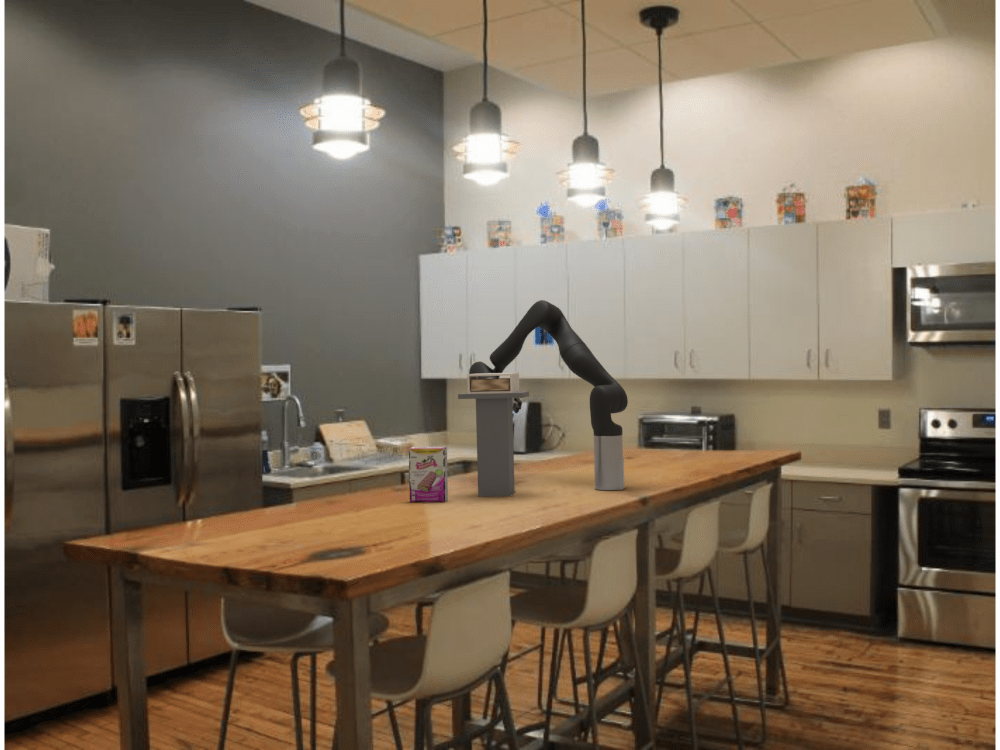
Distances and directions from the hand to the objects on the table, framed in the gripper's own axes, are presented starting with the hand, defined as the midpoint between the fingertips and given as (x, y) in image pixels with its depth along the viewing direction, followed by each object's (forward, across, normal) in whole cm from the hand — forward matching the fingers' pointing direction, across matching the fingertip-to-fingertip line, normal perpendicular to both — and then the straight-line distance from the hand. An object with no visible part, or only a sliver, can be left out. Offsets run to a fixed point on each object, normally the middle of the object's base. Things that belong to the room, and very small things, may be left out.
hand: (504, 409), depth 320 cm
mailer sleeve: (+9, -7, -8) cm, 14 cm away
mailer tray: (+4, -5, -8) cm, 10 cm away
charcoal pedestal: (+19, -3, +22) cm, 29 cm away
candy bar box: (+24, -25, +23) cm, 42 cm away
